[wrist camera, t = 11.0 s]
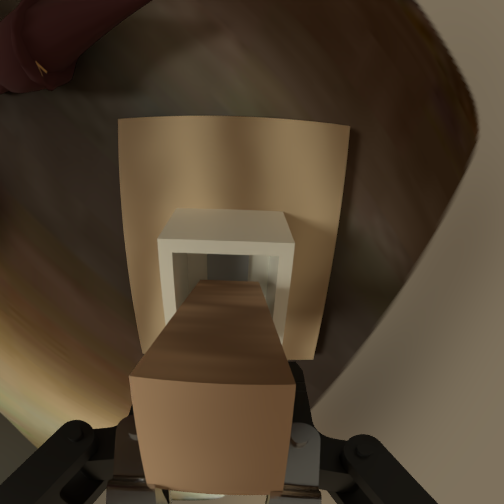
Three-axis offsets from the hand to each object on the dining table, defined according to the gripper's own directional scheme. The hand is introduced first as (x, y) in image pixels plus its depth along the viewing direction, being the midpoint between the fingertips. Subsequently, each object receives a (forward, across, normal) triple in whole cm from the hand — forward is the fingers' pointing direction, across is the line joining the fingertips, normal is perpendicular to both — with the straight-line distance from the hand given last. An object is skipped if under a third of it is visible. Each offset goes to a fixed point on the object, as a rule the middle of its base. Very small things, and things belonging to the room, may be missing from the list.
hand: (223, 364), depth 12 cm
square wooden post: (+6, 0, +1) cm, 6 cm away
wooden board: (+11, 0, 0) cm, 11 cm away
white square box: (+10, 0, 0) cm, 10 cm away
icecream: (+11, +12, -15) cm, 22 cm away
